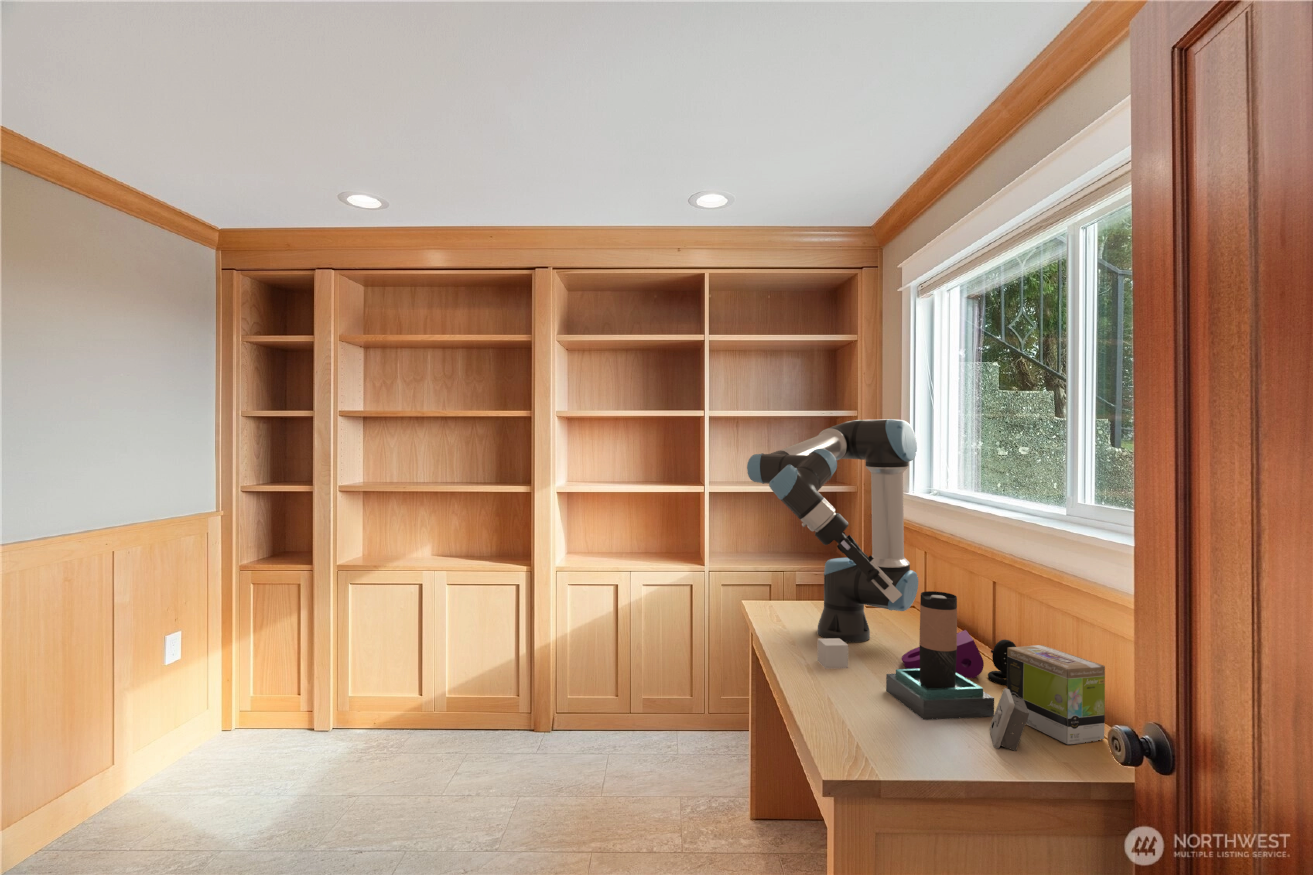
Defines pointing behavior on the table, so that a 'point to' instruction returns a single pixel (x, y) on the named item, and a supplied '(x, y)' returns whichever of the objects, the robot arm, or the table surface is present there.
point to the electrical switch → (1008, 721)
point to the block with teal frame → (939, 697)
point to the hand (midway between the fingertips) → (892, 592)
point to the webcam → (1000, 661)
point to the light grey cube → (832, 653)
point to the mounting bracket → (966, 659)
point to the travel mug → (938, 639)
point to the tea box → (1059, 692)
